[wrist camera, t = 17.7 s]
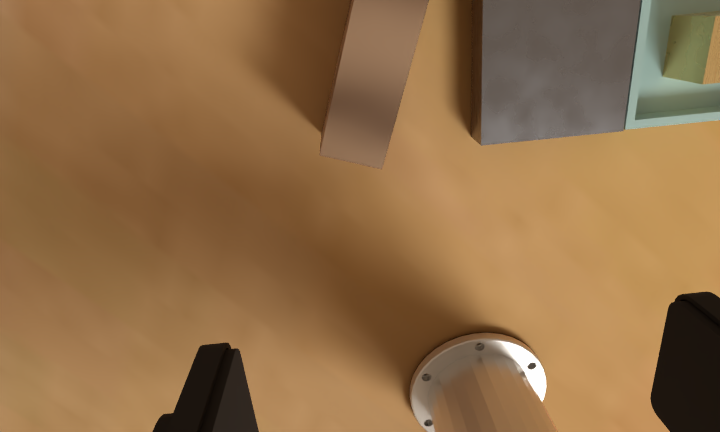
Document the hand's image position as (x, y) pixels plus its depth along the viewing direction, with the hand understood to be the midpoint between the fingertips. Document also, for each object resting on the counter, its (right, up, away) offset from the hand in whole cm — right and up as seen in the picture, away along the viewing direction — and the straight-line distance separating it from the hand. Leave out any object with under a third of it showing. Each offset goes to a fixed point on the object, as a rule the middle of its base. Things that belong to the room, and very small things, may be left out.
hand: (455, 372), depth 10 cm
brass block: (+19, +14, +21) cm, 32 cm away
